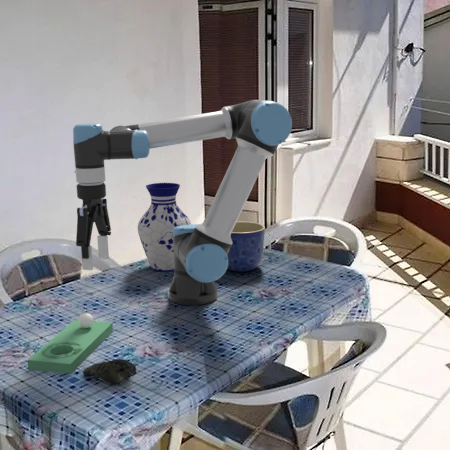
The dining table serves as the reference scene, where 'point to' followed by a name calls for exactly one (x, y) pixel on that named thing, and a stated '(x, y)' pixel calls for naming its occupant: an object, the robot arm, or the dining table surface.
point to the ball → (85, 320)
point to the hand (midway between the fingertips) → (96, 263)
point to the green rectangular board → (70, 347)
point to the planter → (246, 246)
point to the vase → (161, 225)
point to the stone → (112, 371)
